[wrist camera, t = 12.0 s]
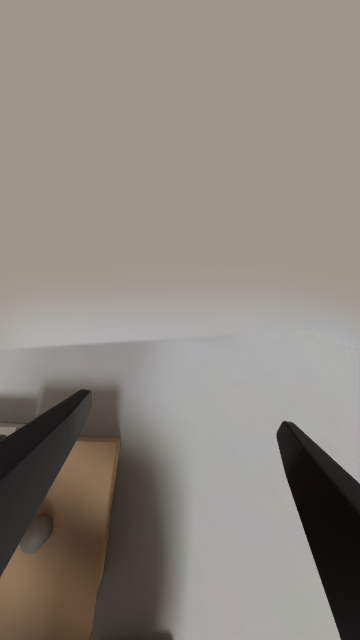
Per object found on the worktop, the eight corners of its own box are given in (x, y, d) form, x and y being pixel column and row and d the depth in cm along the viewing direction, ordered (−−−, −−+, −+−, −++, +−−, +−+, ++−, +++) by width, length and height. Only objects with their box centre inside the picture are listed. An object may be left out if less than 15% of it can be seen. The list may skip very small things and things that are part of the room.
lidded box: (106, 583, 16) (81, 664, 11) (-6, 584, 15) (-84, 670, 11) (125, 433, 20) (113, 444, 15) (37, 430, 20) (-4, 441, 15)
